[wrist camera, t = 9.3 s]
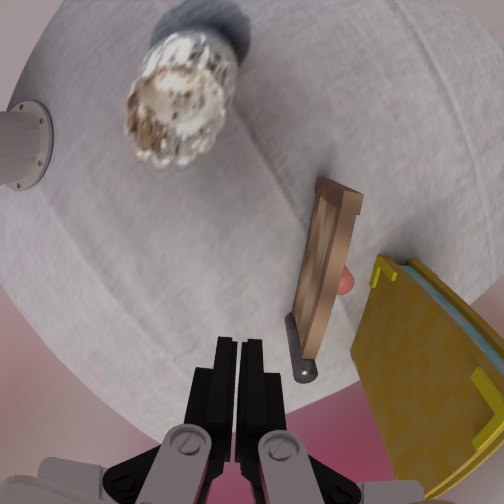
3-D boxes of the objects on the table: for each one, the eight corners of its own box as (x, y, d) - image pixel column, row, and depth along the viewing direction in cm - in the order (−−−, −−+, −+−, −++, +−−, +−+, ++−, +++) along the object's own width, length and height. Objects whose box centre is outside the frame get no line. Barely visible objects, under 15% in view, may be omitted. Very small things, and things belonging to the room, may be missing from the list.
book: (377, 255, 31) (510, 413, 8) (419, 260, 32) (549, 389, 8) (342, 362, 37) (390, 515, 14) (381, 360, 38) (441, 496, 14)
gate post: (280, 321, 35) (288, 378, 25) (293, 308, 34) (304, 363, 25) (295, 330, 35) (306, 386, 26) (307, 317, 34) (322, 372, 25)
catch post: (310, 258, 32) (324, 286, 25) (324, 241, 31) (341, 267, 24) (326, 269, 32) (342, 299, 26) (339, 253, 31) (359, 280, 25)
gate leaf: (317, 177, 28) (344, 190, 19) (331, 180, 28) (363, 194, 19) (290, 310, 34) (301, 361, 25) (303, 311, 34) (317, 361, 25)
